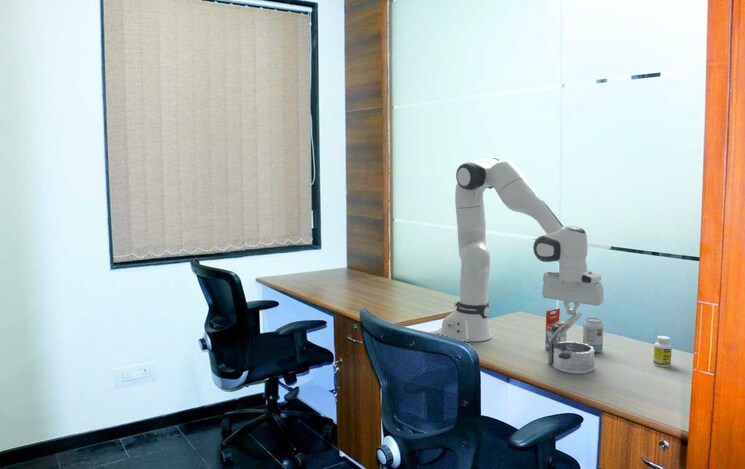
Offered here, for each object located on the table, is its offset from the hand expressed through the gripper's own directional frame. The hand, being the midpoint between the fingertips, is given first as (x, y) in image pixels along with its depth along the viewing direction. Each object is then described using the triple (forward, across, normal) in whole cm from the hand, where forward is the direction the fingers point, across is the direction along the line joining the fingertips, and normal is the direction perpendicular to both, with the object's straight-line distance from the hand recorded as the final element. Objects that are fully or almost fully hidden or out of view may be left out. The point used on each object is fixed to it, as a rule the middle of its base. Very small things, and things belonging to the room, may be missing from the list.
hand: (571, 314), depth 203 cm
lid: (+6, -2, 0) cm, 6 cm away
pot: (+18, +1, 0) cm, 18 cm away
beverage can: (+19, 0, +21) cm, 28 cm away
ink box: (+19, -12, +16) cm, 27 cm away
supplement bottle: (+18, +24, +21) cm, 37 cm away
